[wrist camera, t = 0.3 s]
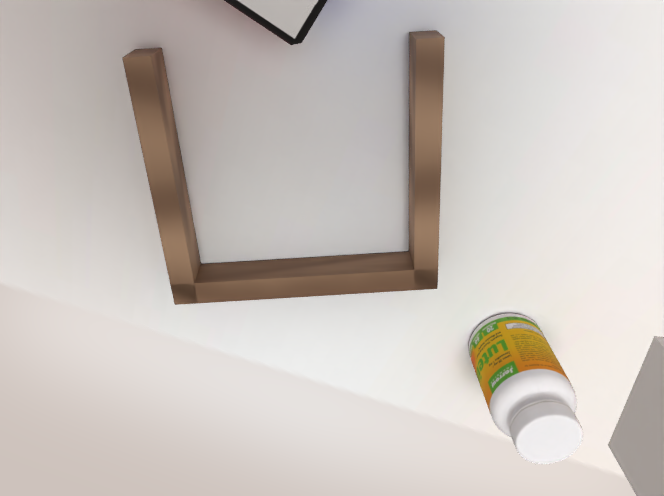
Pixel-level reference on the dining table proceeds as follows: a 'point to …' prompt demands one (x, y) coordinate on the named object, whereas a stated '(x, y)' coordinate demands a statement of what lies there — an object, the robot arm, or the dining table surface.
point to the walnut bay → (298, 273)
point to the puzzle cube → (282, 16)
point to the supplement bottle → (526, 388)
